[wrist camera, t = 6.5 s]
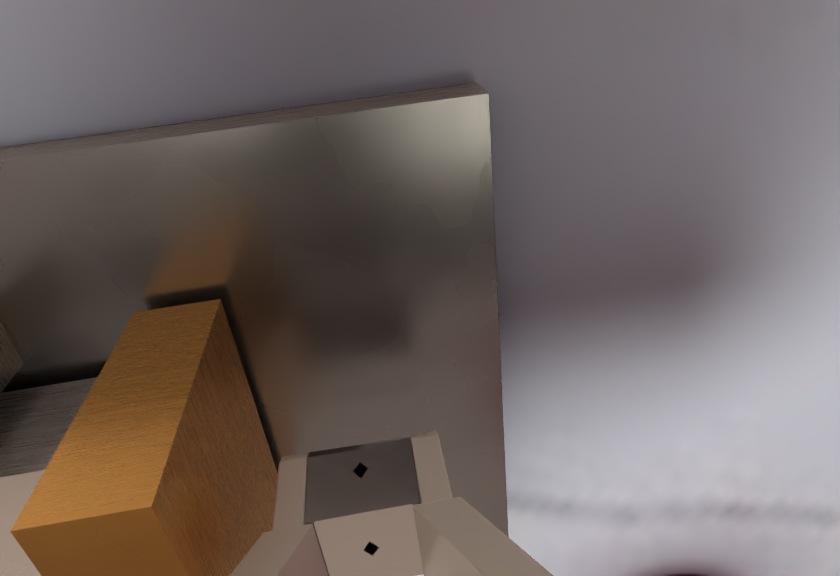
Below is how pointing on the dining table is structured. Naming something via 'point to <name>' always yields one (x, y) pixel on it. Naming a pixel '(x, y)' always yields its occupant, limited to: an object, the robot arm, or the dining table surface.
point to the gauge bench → (281, 266)
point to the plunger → (139, 459)
